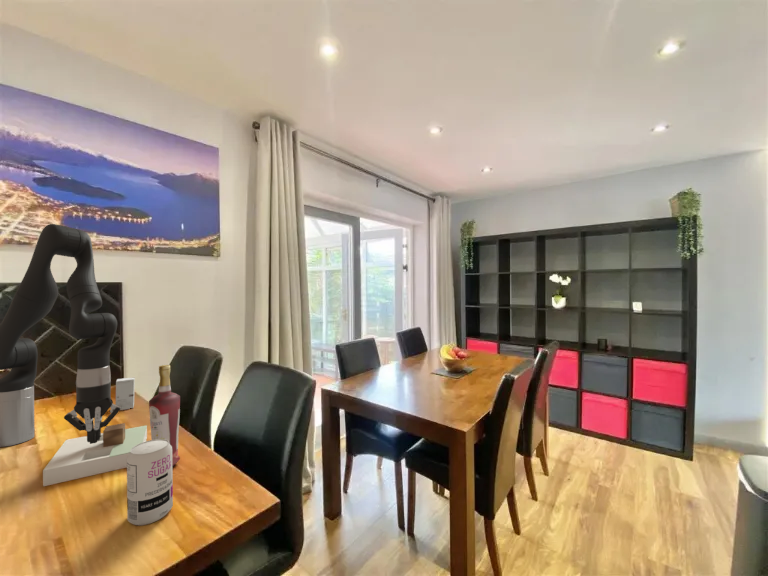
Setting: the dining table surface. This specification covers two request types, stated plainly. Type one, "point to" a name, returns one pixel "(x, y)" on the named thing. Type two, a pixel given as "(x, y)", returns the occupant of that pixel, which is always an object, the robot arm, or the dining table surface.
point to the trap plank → (90, 457)
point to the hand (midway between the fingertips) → (93, 442)
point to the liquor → (165, 413)
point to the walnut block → (114, 435)
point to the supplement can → (149, 481)
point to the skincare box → (125, 393)
